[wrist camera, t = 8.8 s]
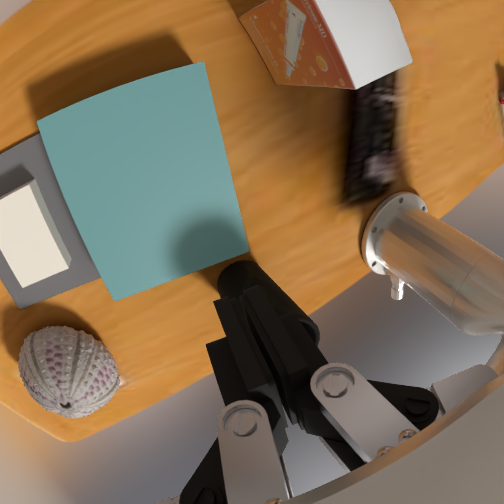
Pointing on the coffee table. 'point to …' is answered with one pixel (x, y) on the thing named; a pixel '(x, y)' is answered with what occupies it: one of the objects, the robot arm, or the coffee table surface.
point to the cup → (252, 275)
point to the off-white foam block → (30, 236)
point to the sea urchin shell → (67, 371)
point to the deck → (147, 179)
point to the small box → (327, 41)
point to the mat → (81, 266)
